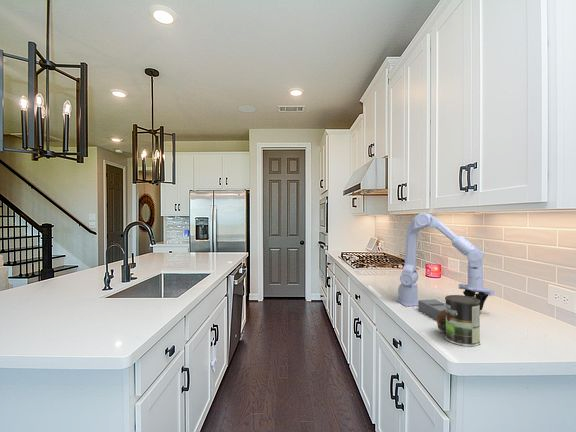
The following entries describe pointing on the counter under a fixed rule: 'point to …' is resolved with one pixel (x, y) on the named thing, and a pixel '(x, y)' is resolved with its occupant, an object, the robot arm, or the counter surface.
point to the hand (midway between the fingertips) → (475, 308)
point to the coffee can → (463, 320)
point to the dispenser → (431, 307)
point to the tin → (442, 320)
